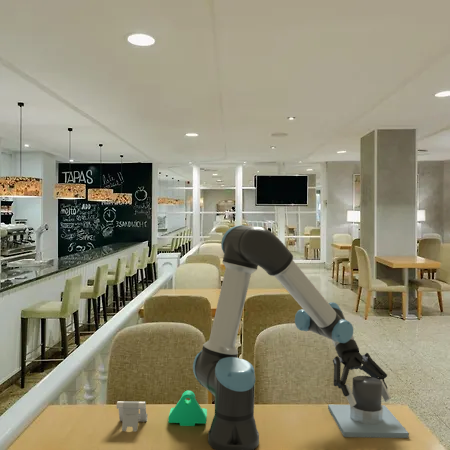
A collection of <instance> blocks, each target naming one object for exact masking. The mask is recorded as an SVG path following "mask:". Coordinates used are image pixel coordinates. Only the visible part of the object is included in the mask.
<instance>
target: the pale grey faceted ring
mask: <svg viewBox="0 0 450 450" xmlns="http://www.w3.org/2000/svg"><path fill="white" fill-rule="evenodd" d="M382 416H383V407H382V404H381V409H379V410H377V411H366V410H361V409H358V408H356V407H354V406H353V407H350V418H351V419H353V420H354V421H355V422H358V423H361V424H365V425H377V424H380V423H381V422H382Z"/></svg>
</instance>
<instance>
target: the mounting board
mask: <svg viewBox="0 0 450 450" xmlns="http://www.w3.org/2000/svg"><path fill="white" fill-rule="evenodd" d="M381 405H382V404H381ZM382 407H383V416H382V422H381V423H380V424H377V425H365V424H361V423H358V422H355V421H354V420H353V419H351V418H350V404H332V403H331V404H328V405H327V409H328V411H329V413H330V414H331V416H332V419H333V420H334V423H336V425H337V428H338V429H339V430H340V432H341V434H342V436H343V437H344V438H381V439H383V438H385V439H386V438H387V439H388V438H392V439H395V438H396V439H397V438H398V439H399V438H400V439H404V438H405V439H408V438H410V437H409V436H410V435H409V434H410V432H408V430H407V429H406V428H405V426H403V424H402V423H401V422H400V421H399V420H398V419H397V417H396V416H395V415H394V414H393V413H392V412H391V410H390V409H389V408H388V407H387V406H386V405H384V404H383V405H382Z"/></svg>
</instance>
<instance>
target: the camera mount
mask: <svg viewBox="0 0 450 450" xmlns="http://www.w3.org/2000/svg"><path fill="white" fill-rule="evenodd" d="M188 399H189V400H188ZM207 417H208V409H207V408H204V407H201V406H200V403H199V402H198V400H197V399H196V395H195V393H194V391H192V390H189V389H188V390H185V391H184V392H183V393H182V394H181V397H180V399H179V400H178V402H177V403H176V405H175V406H174V407H171V408H170V410H169V414H168V418H167V419H168V421H167V422H168V423H171V424H175V423H176V424H179V426H181V427H195V426H196V424H207Z"/></svg>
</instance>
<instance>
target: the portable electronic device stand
mask: <svg viewBox="0 0 450 450" xmlns="http://www.w3.org/2000/svg"><path fill="white" fill-rule="evenodd" d="M116 409H117V410H118V416H119V421H120V422H122V427H121V431H122V432H127V431H128V430H127V428H130V427H131V428H132V432H137V431H138V428H139V427H138V425H139V422H148V413H147V404H146V401H120V400H119V401H117V402H116Z"/></svg>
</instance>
